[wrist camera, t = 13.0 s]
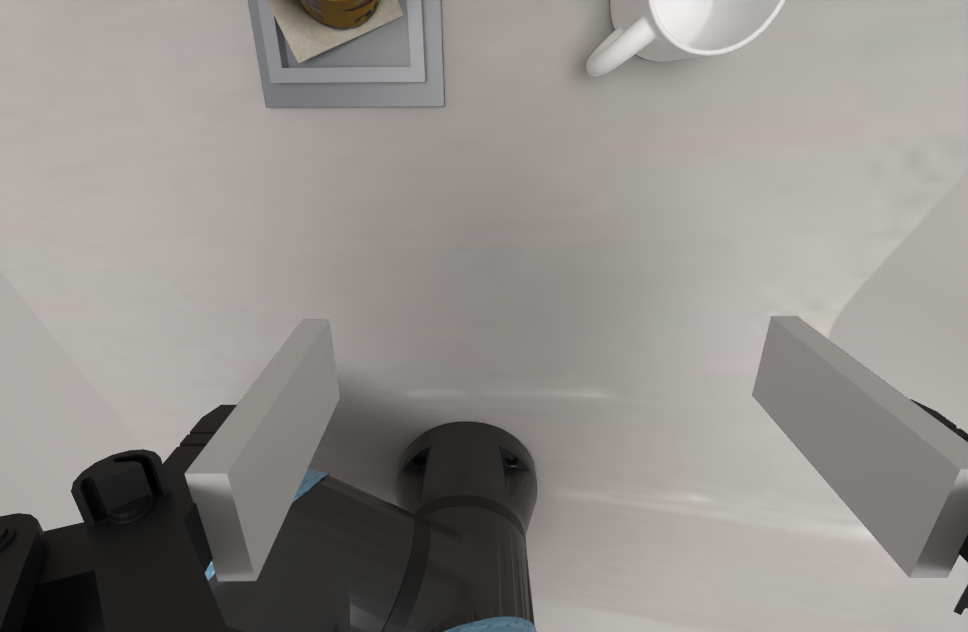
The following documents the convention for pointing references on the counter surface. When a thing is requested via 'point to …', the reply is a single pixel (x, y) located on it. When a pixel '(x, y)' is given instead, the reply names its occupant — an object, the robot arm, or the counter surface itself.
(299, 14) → the condiment
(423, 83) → the dock
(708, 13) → the mug
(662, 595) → the counter surface
